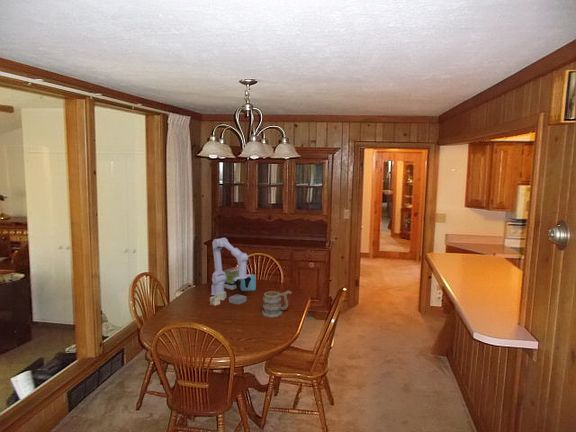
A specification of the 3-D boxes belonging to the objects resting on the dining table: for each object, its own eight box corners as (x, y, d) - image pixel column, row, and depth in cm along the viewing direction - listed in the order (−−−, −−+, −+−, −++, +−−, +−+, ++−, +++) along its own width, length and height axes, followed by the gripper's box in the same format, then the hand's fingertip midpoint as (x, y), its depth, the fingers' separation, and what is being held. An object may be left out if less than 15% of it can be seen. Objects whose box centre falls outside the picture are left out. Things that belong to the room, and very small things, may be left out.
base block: (228, 302, 299) (228, 297, 299) (237, 299, 307) (237, 294, 306) (238, 305, 294) (238, 299, 294) (246, 301, 302) (246, 296, 301)
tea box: (232, 290, 327) (232, 272, 325) (223, 287, 333) (223, 270, 331) (245, 285, 339) (245, 268, 337) (236, 283, 345) (236, 266, 343)
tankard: (264, 318, 269) (264, 295, 267) (260, 311, 281) (260, 290, 279) (294, 315, 275) (294, 293, 273) (289, 308, 287) (289, 287, 285)
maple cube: (210, 304, 295) (209, 297, 294) (215, 302, 299) (214, 295, 298) (215, 305, 292) (215, 299, 291) (220, 303, 296) (219, 297, 295)
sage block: (217, 299, 305) (217, 293, 304) (219, 297, 310) (219, 291, 309) (223, 300, 304) (223, 293, 303) (226, 298, 308) (226, 291, 308)
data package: (255, 288, 332) (255, 274, 330) (255, 290, 327) (255, 275, 326) (240, 289, 329) (240, 274, 328) (240, 291, 325) (240, 276, 324)
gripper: (238, 273, 289) (238, 292, 290) (253, 269, 299) (253, 287, 301) (231, 271, 294) (232, 289, 295) (247, 267, 304) (247, 285, 306)
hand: (242, 288), depth 298 cm, fingers open, 7 cm apart
